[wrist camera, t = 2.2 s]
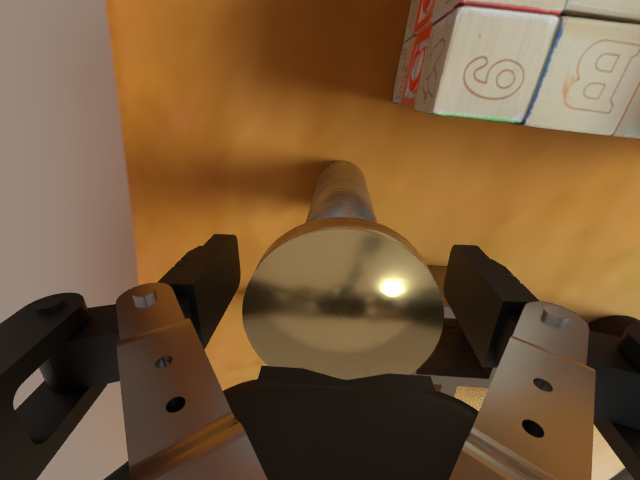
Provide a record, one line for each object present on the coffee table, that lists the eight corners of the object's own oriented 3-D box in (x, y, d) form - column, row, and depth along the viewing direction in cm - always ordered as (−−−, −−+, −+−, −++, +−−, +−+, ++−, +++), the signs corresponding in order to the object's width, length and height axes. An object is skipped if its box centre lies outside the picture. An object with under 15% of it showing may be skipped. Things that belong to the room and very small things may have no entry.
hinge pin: (302, 143, 20) (233, 227, 7) (384, 146, 20) (465, 238, 7) (302, 219, 22) (249, 387, 9) (376, 222, 22) (425, 399, 9)
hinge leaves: (268, 257, 23) (250, 295, 19) (490, 268, 23) (527, 311, 18) (276, 404, 30) (264, 458, 26) (446, 417, 30) (465, 475, 25)
